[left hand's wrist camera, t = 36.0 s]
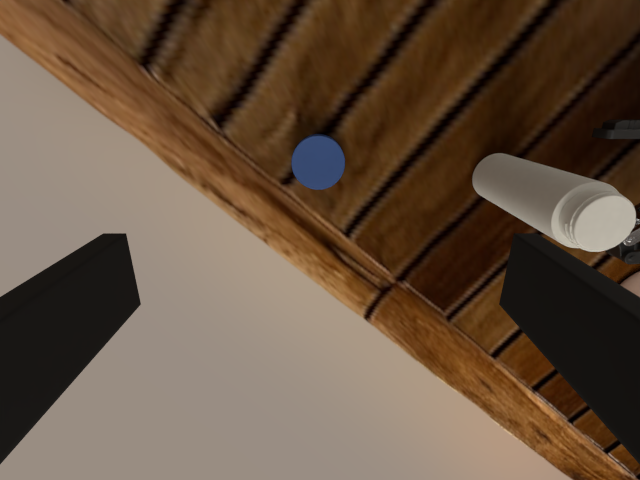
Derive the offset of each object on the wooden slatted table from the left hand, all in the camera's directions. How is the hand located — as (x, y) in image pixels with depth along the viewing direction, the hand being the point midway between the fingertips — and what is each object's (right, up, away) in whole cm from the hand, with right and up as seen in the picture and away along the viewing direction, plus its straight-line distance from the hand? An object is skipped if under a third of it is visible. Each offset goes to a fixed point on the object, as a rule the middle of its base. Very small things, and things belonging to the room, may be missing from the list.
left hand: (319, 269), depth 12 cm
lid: (0, +9, +23) cm, 25 cm away
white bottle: (+18, +8, +25) cm, 32 cm away
